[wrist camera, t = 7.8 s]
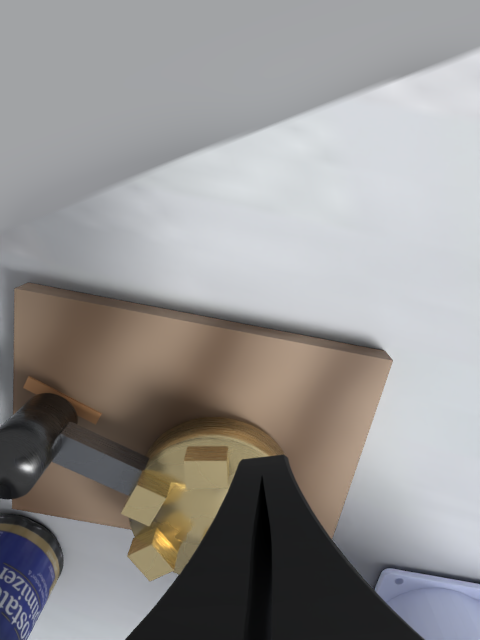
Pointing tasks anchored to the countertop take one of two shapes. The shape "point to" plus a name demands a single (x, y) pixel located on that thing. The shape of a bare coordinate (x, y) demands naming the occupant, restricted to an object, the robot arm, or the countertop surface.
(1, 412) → the countertop surface
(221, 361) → the wooden board
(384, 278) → the countertop surface
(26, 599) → the pill bottle
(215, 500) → the gold and black piece
